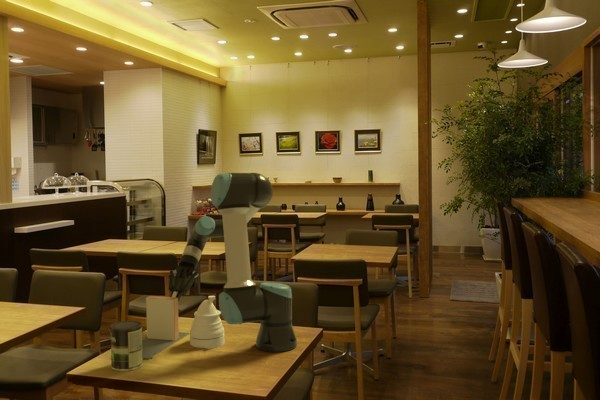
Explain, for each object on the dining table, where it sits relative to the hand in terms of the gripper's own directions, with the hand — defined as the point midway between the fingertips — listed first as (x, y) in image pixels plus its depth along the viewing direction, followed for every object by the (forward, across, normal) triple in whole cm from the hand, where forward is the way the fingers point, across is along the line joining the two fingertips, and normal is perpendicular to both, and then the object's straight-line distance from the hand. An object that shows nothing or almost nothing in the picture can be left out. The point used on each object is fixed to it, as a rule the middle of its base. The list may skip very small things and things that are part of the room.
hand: (171, 307), depth 222 cm
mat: (+17, 0, +2) cm, 17 cm away
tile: (+13, 0, -2) cm, 13 cm away
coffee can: (+33, -4, +17) cm, 37 cm away
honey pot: (+13, -19, -3) cm, 23 cm away
